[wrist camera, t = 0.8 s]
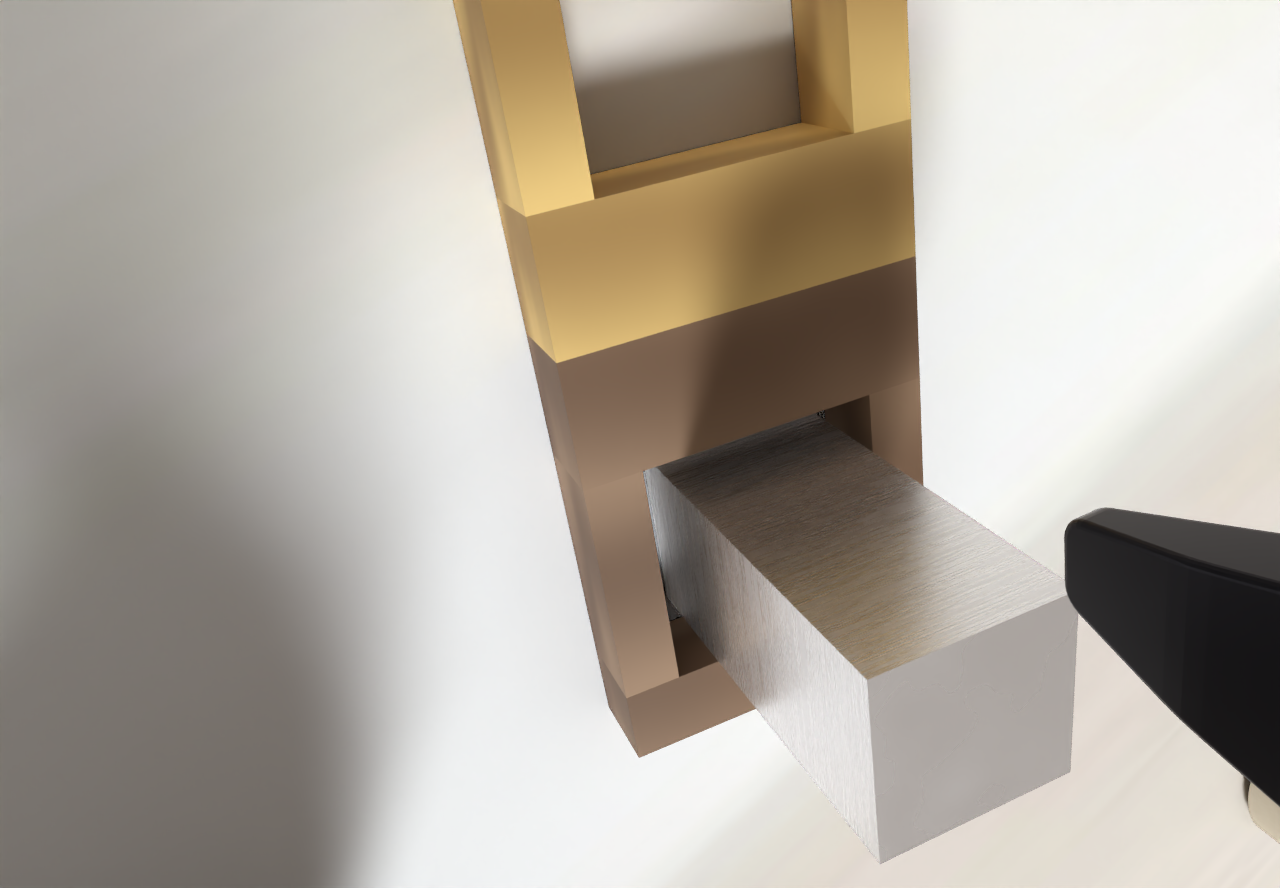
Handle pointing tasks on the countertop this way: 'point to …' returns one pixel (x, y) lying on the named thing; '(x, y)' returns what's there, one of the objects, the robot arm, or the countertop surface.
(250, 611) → the countertop surface
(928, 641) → the peg
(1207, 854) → the countertop surface
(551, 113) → the wooden slotted board
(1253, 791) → the travel mug
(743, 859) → the countertop surface
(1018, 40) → the countertop surface
